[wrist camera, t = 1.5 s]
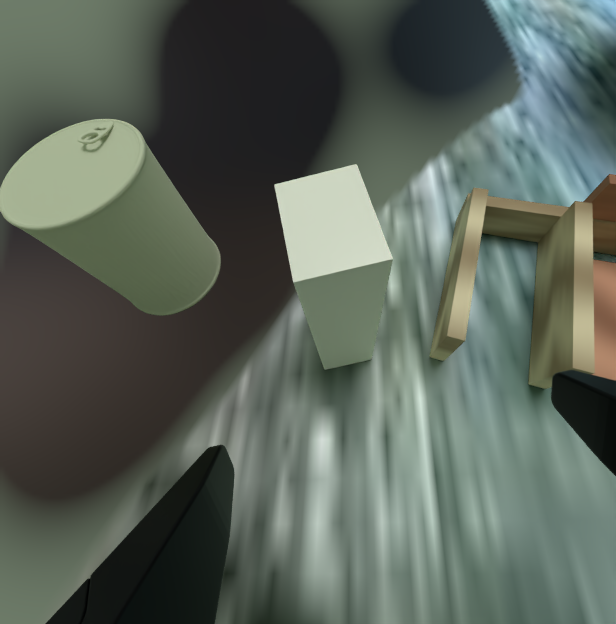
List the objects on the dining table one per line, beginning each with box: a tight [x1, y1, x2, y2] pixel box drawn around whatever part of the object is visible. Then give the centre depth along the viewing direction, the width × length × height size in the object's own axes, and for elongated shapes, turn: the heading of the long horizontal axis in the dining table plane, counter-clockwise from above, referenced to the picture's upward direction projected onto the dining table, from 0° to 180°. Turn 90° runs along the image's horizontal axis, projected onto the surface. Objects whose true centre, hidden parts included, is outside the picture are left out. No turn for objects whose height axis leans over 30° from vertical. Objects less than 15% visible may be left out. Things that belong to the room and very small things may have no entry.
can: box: [0, 119, 221, 315], centre depth 23 cm, size 9×9×12 cm
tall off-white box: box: [275, 164, 393, 370], centre depth 18 cm, size 5×4×13 cm
